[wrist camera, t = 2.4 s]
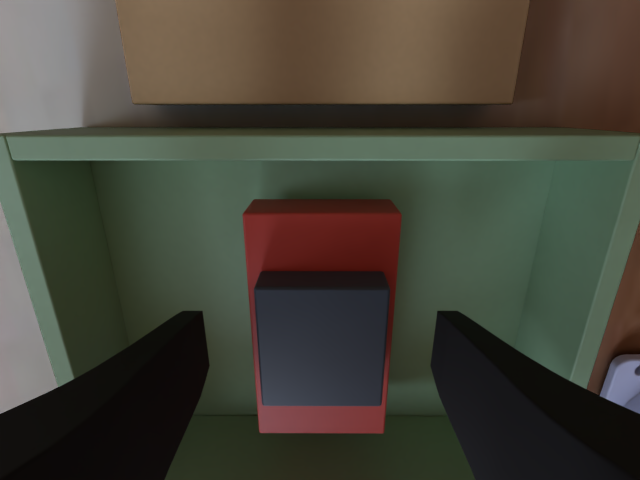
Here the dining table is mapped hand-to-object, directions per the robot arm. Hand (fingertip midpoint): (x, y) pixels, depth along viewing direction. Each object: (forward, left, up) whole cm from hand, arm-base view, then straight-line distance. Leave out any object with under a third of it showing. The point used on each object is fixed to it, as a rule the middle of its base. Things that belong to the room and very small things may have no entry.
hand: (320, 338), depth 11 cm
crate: (0, 0, -3) cm, 3 cm away
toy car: (0, 0, -2) cm, 2 cm away
